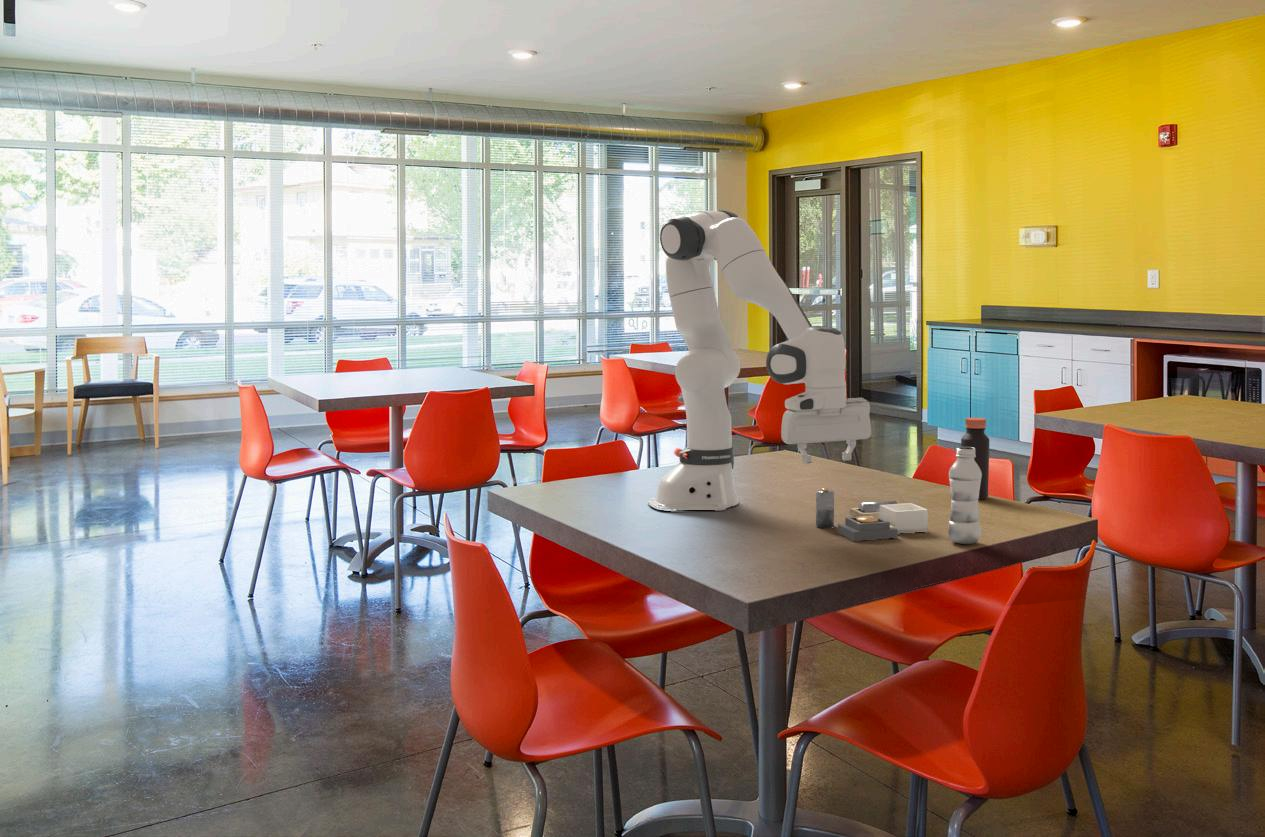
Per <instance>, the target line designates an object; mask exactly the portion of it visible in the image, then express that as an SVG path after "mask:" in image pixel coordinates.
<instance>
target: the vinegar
mask: <svg viewBox="0 0 1265 837" xmlns="http://www.w3.org/2000/svg"><path fill="white" fill-rule="evenodd" d="M964 421H965V422H964V427H965V429H964V430H966V433H965V434H964V435H963V436H962V437H961V438H960V447H973V448H975V455H976V457H975V458H974V461H975V462H976V463H977V465H978V466H979V468H980V470H981V473H982V477H981V484H980V490H979V499H982V500H986V499H987V497H989V472H990V466H989V465H990V438H989V437H988V436H987V435H986V433H985V431H986V427H987V419H986V418H983V417H966V418H965V419H964ZM985 498H986V499H985Z"/></svg>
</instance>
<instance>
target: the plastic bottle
mask: <svg viewBox="0 0 1265 837" xmlns="http://www.w3.org/2000/svg"><path fill="white" fill-rule="evenodd" d="M955 457H956V460H955V461H954V462H953V464H952V466H950V468H949V471H948V481H949V487H950V498H951V500H950V501H951V502H950V503H951V504H950V515H949V521H948V525H947V527H948V528H947V535H948V538H949V540H950V541H951V542H952V543H955V544H960V545H969V544H976V543H978V542H979V540H980V539H981V535H982V527H981V522H980V514H979V512H980V510H979V500H978V499H979V490H980V484H981V477H982V473H981V470H980V468H979V466H978V465H977V463H976V462H975V461H974V458H975V457H976V455H975V448H973V447H961V446H958V447H956V454H955Z"/></svg>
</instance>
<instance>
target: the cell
mask: <svg viewBox="0 0 1265 837" xmlns="http://www.w3.org/2000/svg"><path fill="white" fill-rule="evenodd" d="M816 526H817V527H816ZM815 527H816V528H818V527H821V528H820V529H824V528H828V529H832V527H833V528H835V491H834V490H832V489H829V488H828V487H824V488H821V489H818V490H815Z"/></svg>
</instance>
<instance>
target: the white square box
mask: <svg viewBox="0 0 1265 837" xmlns="http://www.w3.org/2000/svg"><path fill="white" fill-rule="evenodd" d="M928 515H929V509H927V508H925V507H922V506H919V505H917V504H915V503H913V502H908V503H907V502H906V503H905V502H903V503H897V504H888V505H880V518H882V519H884V520H886V521H888V522H890V525H891V526H893V527H894V528H896V529H897V535H901V534H900V533H911V534H916V533H915V532H925V533H927V532H926V531H928V530H929V529H928V525H929V524H928V522H929V516H928Z"/></svg>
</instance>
